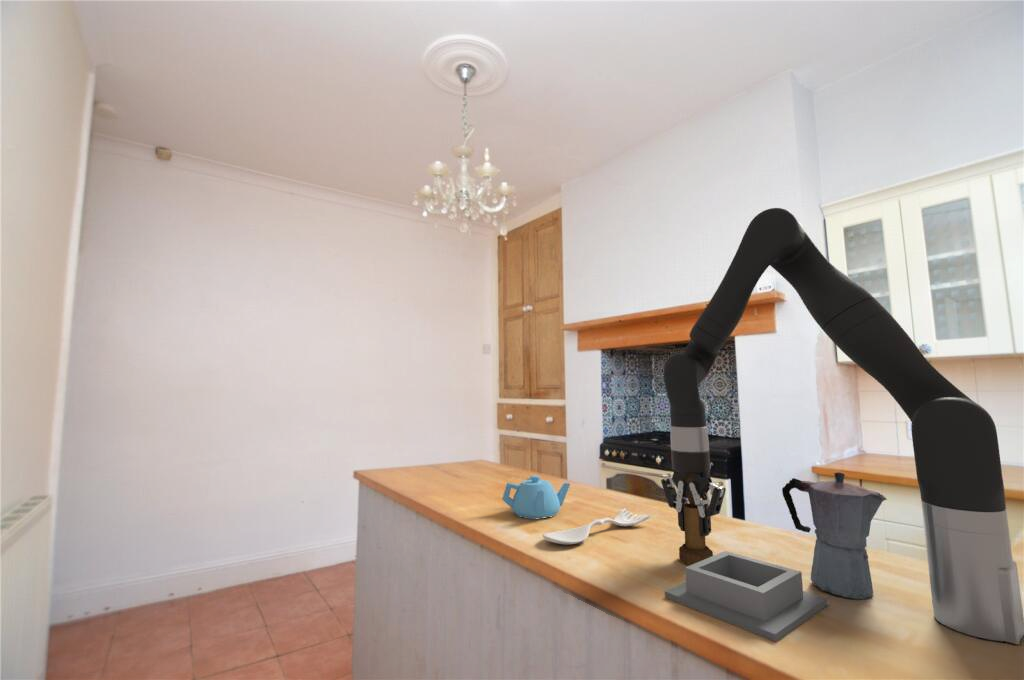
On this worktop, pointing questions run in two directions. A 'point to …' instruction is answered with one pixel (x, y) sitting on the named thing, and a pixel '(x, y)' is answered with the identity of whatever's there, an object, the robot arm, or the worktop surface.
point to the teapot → (535, 498)
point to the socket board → (747, 594)
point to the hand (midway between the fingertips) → (694, 532)
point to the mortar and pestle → (692, 534)
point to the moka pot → (838, 533)
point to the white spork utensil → (582, 532)
